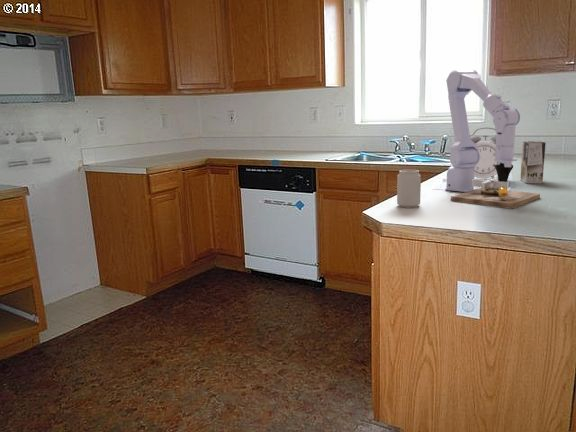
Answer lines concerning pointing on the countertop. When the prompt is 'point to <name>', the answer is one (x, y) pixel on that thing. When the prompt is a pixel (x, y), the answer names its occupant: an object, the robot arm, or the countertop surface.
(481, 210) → the countertop surface
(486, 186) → the capstan
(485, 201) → the lever board
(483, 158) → the alarm clock
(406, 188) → the can
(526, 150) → the coffee box
